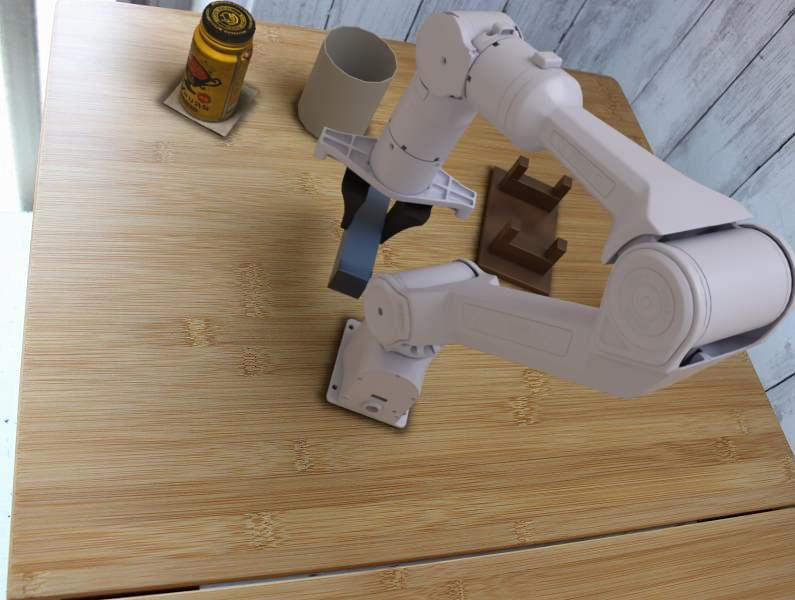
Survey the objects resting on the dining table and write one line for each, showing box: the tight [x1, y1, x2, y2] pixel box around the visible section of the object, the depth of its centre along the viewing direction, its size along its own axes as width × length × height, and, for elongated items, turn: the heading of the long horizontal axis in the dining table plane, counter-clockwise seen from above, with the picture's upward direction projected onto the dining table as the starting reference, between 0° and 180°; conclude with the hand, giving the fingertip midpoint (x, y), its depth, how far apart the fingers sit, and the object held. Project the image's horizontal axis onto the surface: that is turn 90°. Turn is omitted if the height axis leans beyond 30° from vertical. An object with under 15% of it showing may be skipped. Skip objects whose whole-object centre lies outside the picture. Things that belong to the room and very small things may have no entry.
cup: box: [297, 25, 399, 140], centre depth 93 cm, size 8×8×10 cm
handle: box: [326, 185, 392, 300], centre depth 78 cm, size 14×3×3 cm, turn 169°
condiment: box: [162, 0, 259, 138], centre depth 87 cm, size 7×8×12 cm
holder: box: [476, 154, 573, 297], centre depth 96 cm, size 16×9×6 cm, turn 169°
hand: (363, 228), depth 78 cm, fingers closed on handle, 3 cm apart
